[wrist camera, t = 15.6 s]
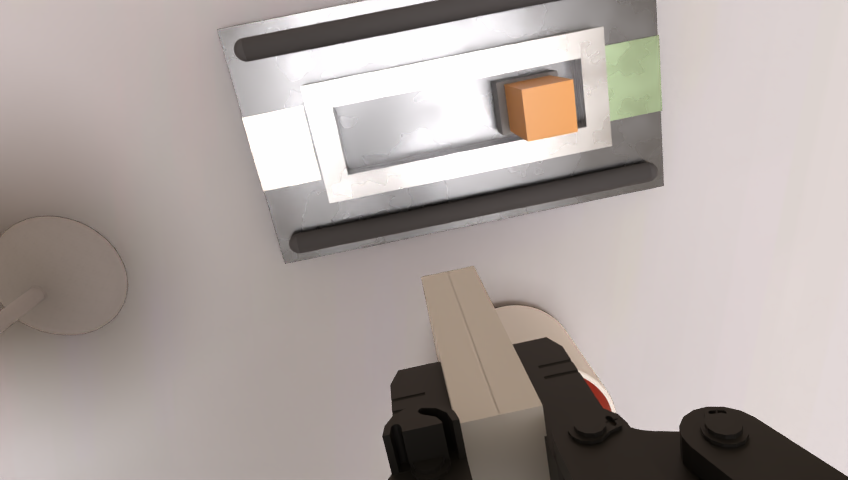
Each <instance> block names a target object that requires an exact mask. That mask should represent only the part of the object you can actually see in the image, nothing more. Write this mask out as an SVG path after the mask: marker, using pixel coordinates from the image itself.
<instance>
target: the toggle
mask: <svg viewBox="0 0 848 480" xmlns="http://www.w3.org/2000/svg"><path fill="white" fill-rule="evenodd" d="M491 87H492V94H493V102H494V109H495V116H496V123H497V130H498V132H499V133H500V134H502V135H508V134H513V133H514V134H516V135H518V136H519V137H521V138H522V139H524V140H526V141H527V142H530V141H535V140H540V139H545V138H550V137H555V136H560V135H565V134H570V133H574V132H578V127H577V116H576V105H575V94H574V83H573V79H568V78H562V77H558V73H557V71H556V70H544V71H539V72H534V73H529V74H524V75H519V76H514V77H509V78H504V79H499V80H494V81H491Z"/></svg>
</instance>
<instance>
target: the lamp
mask: <svg viewBox="0 0 848 480" xmlns="http://www.w3.org/2000/svg"><path fill="white" fill-rule="evenodd" d="M127 286H128V283H127V274H126V271H125V267H124V265H123V262H122V260H121V258H120V256H119V255H118V253H117V252H116V250H115V249H114V247H113V246H112V245H111V244H110V243H109V242H108V241H107V240H106V239H105V238H104V237H103V236H101V235H100V234H99V233H98V232H96V231H95V230H93V229H91V228H90V227H88V226H86V225H84V224H82V223H80V222H77V221H74V220H71V219H67V218H62V217H54V216H42V217H34V218H30V219H26V220H23V221H21V222H19V223H17V224H15V225H13V226H12V227H10V228H9V229H7V230H6V231H5V232H4V233H3V234H2V235H1V236H0V302H1V304H2V305H3V306H4V308H3V309H2V310H1V311H0V333H2V332H3V331H4V330H5V329H7V328H8V327H9V326H11V325H12V324H13V323H14V322H16V321H17V320H19V321H20V322H22V323H24V324H26V325H27V326H29V327H32V328H34V329H37V330H40V331H43V332H47V333H52V334H59V335H78V334H84V333H88V332H92V331H94V330H97V329H99V328H101V327H103V326H104V325H106V324H108V323H109V322H110V321H111V320H112V319H113V318H114V317H116V315H117V314H118V313H119V311H120V310H121V308H122V306H123V304H124V302H125V298H126V295H127Z"/></svg>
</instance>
